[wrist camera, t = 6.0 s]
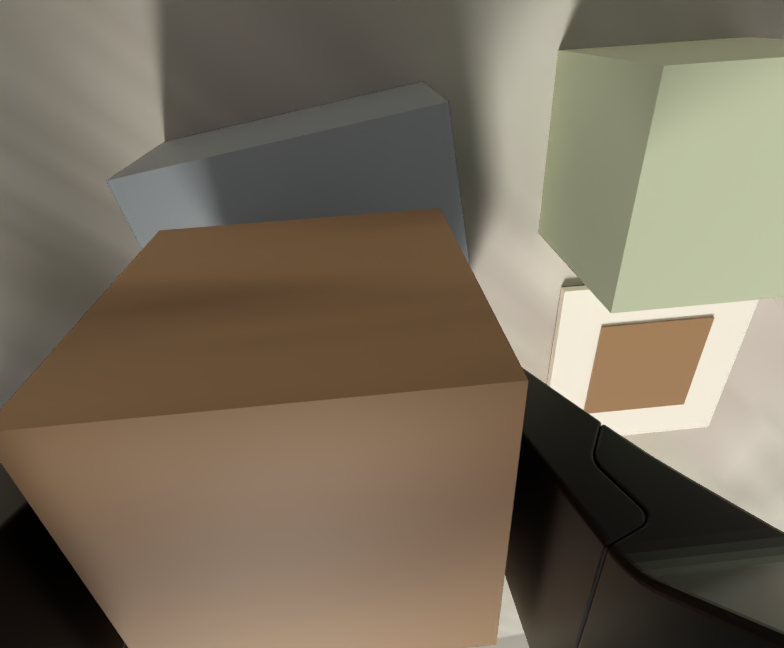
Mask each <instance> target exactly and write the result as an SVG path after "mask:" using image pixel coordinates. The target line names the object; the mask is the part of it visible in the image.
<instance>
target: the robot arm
mask: <svg viewBox="0 0 784 648" xmlns="http://www.w3.org/2000/svg"><path fill="white" fill-rule="evenodd" d="M522 369H523V368H522ZM523 371H524V373H525V375H526V377H527V379H528V388H527V396H526V404H525V412H524V421H523V429H522V437H521V445H520V453H519V462H518V470H517V478H516V486H515V494H514V502H513V511H512V519H511V527H510V535H509V543H508V552H507V560H506V568H505V576H506V579H507V582H508V585H509V588H510V591H511V594H512V597H513V600H514V603H515V606H516V609H517V612H518V615H519V618H520V621H521V624H522V627H523V630H524V633H525V635H526V639H527V641H528V644H529V647H530V648H784V532H782V531H780V530H779V529H777V528H775V527H773V526H771V525H770V524H768V523H766V522H764V521H763V520H761V519H759V518H757V517H756V516H754V515H752V514H750V513H749V512H747V511H745V510H743V509H742V508H740V507H738V506H737V505H735V504H733V503H731V502H730V501H728V500H726V499H724V498H723V497H721V496H719V495H717V494H716V493H714V492H712V491H710V490H709V489H707V488H705V487H704V486H702V485H700V484H698V483H697V482H695V481H693V480H691V479H690V478H688V477H686V476H685V475H683V474H681V473H680V472H678V471H676V470H675V469H673V468H671V467H670V466H668V465H666V464H665V463H663V462H661V461H660V460H658V459H656V458H655V457H653V456H651V455H650V454H648V453H647V452H645V451H644V450H642V449H641V448H639V447H637V446H636V445H634V444H633V443H631V442H630V441H628V440H627V439H625V438H624V437H622V436H621V435H619V434H618V433H616V432H615V431H614V430H612V429H611V428H609V427H608V426H606V425H601V422H600V421H599V420H597V419H596V418H594V417H593V416H592V415H590V414H589V413H587V412H586V411H584V410H583V409H581V408H580V407H579V406H577V405H576V404H574V403H573V402H571V401H570V400H568V399H567V398H565V397H564V396H563V395H561V394H560V393H558V392H557V391H555V390H554V389H552V388H551V387H550V386H548V385H547V384H545V383H544V382H542V381H541V380H539V379H538V378H537V377H535V376H534V375H532V374H531V373H529V372H528V371H526V370H525V369H523ZM0 648H128V646H127V645H126V643H125V642H124V641H123V639H122V638H121V636H120V635H119V633H118V632H117V630H116V629H115V627H114V626H113V625H112V623H111V622H110V620H109V619H108V617H107V616H106V614H105V613H104V612H103V610H102V609H101V607H100V606H99V604H98V603H97V601H96V600H95V599H94V597H93V596H92V594H91V593H90V591H89V590H88V588H87V587H86V585H85V584H84V583H83V581H82V580H81V578H80V577H79V575H78V574H77V572H76V571H75V570H74V568H73V567H72V565H71V564H70V562H69V561H68V559H67V558H66V556H65V555H64V554H63V552H62V551H61V549H60V548H59V546H58V545H57V543H56V542H55V541H54V539H53V538H52V536H51V535H50V533H49V532H48V530H47V529H46V528H45V526H44V525H43V523H42V522H41V520H40V519H39V517H38V516H37V514H36V513H35V512H34V510H33V509H32V507H31V506H30V504H29V503H28V501H27V500H26V499H25V497H24V496H23V494H22V493H21V491H20V490H19V488H18V487H17V485H16V484H15V483H14V481H13V480H12V478H11V477H10V475H9V474H8V472H7V471H6V470H5V468H4V467H3V465H2V464H1V462H0Z"/></svg>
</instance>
